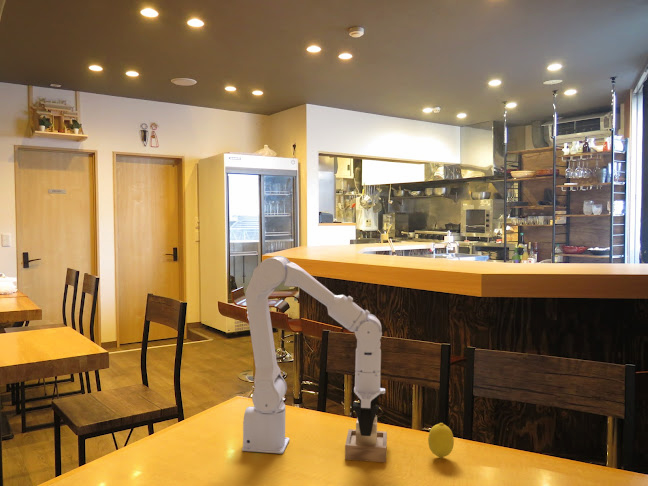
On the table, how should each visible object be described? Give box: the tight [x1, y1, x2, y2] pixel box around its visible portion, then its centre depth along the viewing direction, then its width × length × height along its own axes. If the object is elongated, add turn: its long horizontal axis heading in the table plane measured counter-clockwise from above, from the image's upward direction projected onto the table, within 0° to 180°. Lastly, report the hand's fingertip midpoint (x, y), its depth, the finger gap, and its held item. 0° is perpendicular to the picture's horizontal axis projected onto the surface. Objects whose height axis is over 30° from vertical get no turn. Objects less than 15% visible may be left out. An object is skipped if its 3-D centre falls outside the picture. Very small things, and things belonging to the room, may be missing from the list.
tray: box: [344, 428, 388, 463], centre depth 119 cm, size 9×9×3 cm
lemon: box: [427, 422, 455, 459], centre depth 116 cm, size 6×6×8 cm
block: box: [355, 416, 378, 446], centre depth 119 cm, size 4×4×5 cm
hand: (366, 428), depth 119 cm, fingers open, 7 cm apart
